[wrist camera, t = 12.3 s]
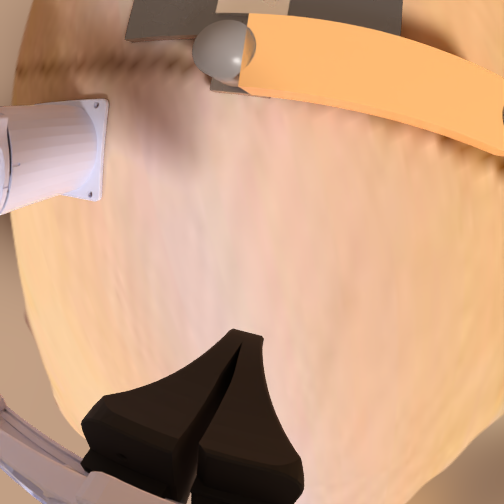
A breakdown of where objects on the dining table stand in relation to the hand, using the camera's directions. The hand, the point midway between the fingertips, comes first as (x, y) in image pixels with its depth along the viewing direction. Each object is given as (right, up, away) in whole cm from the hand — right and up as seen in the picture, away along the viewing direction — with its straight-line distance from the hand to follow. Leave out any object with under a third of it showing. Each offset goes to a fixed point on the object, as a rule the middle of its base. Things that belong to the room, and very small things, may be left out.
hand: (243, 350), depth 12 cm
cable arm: (+7, +13, +2) cm, 15 cm away
